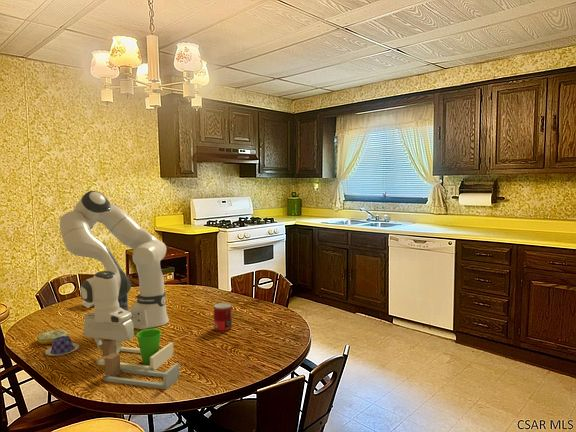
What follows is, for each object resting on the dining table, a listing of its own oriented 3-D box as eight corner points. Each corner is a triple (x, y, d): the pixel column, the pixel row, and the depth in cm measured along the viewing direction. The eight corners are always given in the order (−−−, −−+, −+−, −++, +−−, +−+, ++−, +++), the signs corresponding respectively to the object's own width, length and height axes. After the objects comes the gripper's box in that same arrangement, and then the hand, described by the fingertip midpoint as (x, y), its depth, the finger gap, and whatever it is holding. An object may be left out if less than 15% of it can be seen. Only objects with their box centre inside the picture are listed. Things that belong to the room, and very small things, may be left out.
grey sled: (101, 380, 134) (100, 360, 134) (117, 369, 142) (116, 350, 141) (166, 389, 128) (165, 368, 127) (179, 377, 136) (178, 357, 135)
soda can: (124, 315, 201) (123, 291, 200) (111, 315, 201) (109, 292, 200) (130, 310, 208) (129, 288, 207) (117, 310, 208) (116, 288, 207)
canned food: (228, 332, 176) (228, 308, 175) (211, 331, 178) (211, 307, 177) (234, 326, 183) (233, 303, 182) (218, 325, 185) (217, 302, 184)
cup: (140, 357, 152) (139, 329, 151) (165, 355, 153) (163, 327, 152) (134, 368, 143) (132, 338, 142) (160, 366, 144) (158, 337, 143)
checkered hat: (59, 359, 152) (58, 346, 151) (37, 354, 156) (36, 341, 156) (86, 347, 163) (85, 334, 162) (64, 343, 167) (64, 331, 167)
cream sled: (93, 364, 146) (92, 345, 146) (118, 349, 159) (117, 332, 159) (153, 371, 140) (152, 352, 140) (173, 355, 153) (172, 337, 152)
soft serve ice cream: (75, 311, 213) (70, 285, 214) (95, 305, 227) (89, 281, 228) (95, 306, 210) (89, 280, 211) (113, 300, 225) (108, 276, 226)
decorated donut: (70, 340, 170) (70, 331, 169) (42, 348, 162) (41, 339, 162) (62, 334, 177) (61, 326, 176) (34, 341, 169) (34, 332, 169)
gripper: (78, 315, 151) (80, 350, 152) (124, 319, 146) (126, 355, 147) (90, 309, 157) (92, 343, 158) (135, 313, 152) (137, 348, 153)
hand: (109, 349), depth 152 cm, fingers open, 6 cm apart
